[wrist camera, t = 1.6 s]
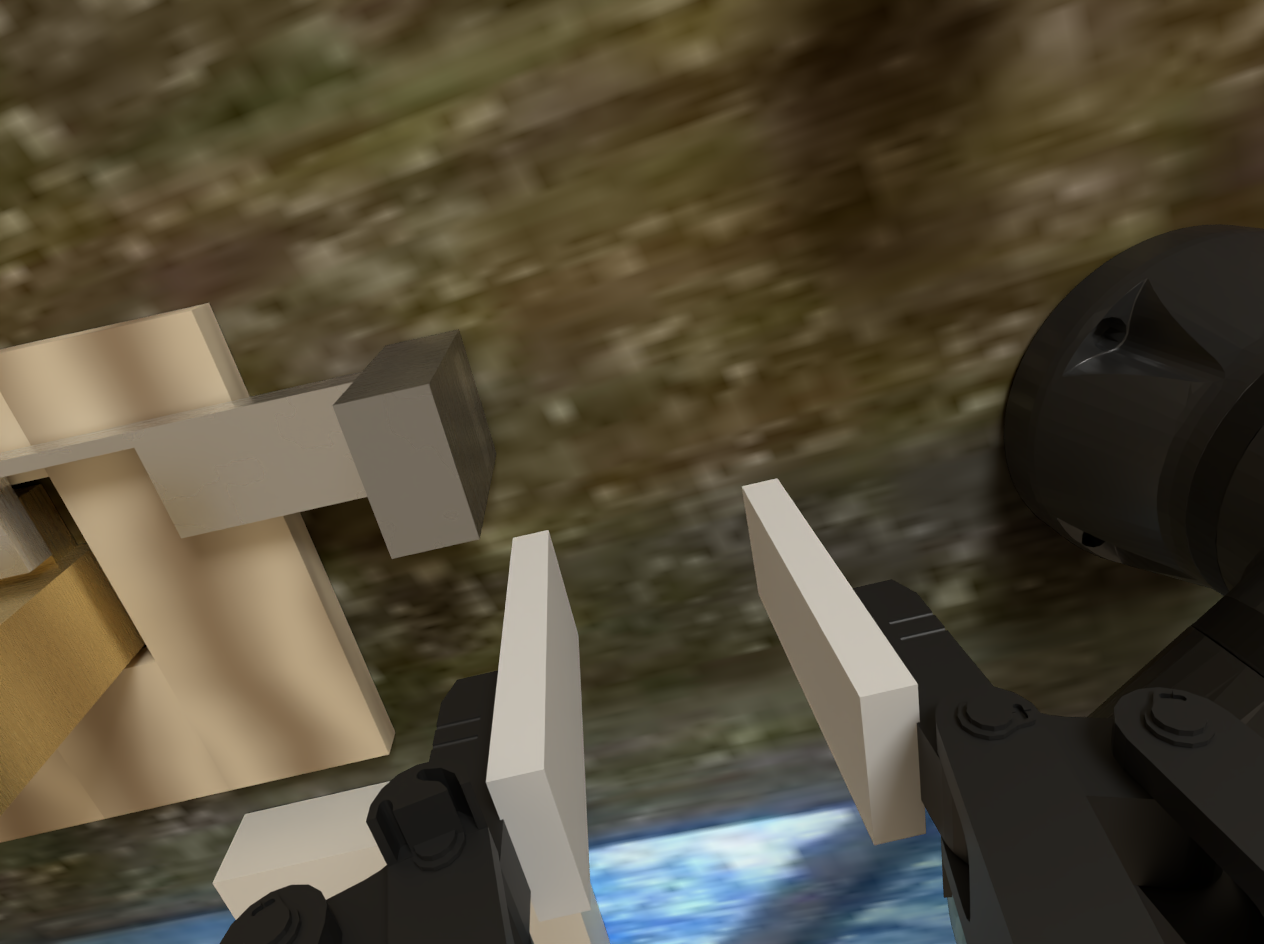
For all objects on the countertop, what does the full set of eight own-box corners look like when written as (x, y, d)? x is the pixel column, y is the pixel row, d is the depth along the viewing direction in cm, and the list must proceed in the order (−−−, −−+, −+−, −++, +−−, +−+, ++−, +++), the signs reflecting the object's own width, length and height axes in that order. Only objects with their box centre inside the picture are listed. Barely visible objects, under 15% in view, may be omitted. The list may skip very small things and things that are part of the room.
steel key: (458, 329, 30) (428, 384, 23) (496, 454, 32) (479, 539, 25) (-88, 451, 29) (-290, 544, 22) (-12, 568, 32) (-175, 686, 25)
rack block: (545, 745, 39) (544, 807, 35) (609, 941, 45) (614, 1011, 42) (245, 813, 39) (212, 883, 35) (352, 1000, 45) (334, 1075, 41)
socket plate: (208, 303, 29) (191, 310, 27) (395, 732, 38) (389, 754, 36) (-353, 427, 28) (-399, 441, 27) (-33, 829, 37) (-55, 854, 36)
